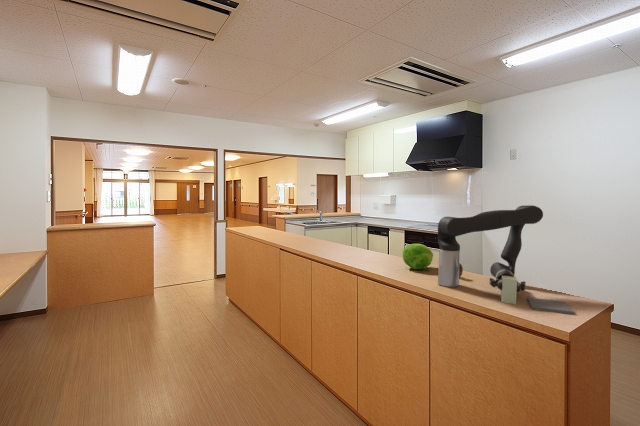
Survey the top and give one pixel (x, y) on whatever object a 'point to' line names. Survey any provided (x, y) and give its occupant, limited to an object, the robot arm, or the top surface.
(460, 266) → the tin
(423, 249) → the lettuce
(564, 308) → the charcoal mat
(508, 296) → the sage block
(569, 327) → the top surface
